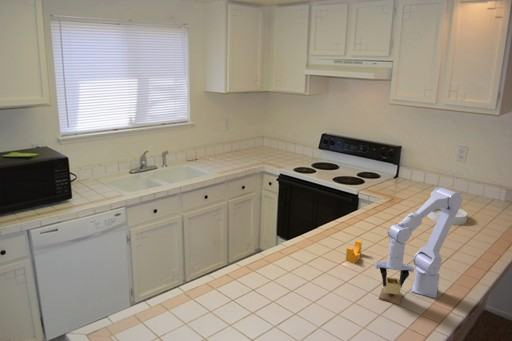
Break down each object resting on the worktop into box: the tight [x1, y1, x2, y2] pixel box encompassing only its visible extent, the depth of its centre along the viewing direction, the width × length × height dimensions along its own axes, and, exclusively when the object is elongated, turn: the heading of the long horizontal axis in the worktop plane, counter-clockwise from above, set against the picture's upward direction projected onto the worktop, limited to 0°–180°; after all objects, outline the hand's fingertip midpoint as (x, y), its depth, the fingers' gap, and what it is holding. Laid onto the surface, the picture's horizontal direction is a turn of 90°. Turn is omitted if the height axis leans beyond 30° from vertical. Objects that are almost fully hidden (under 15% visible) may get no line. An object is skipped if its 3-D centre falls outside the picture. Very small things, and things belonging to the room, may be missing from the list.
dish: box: [426, 208, 468, 226], centre depth 265 cm, size 22×22×5 cm
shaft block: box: [378, 287, 403, 305], centre depth 174 cm, size 8×8×4 cm
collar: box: [382, 276, 402, 295], centre depth 173 cm, size 6×6×4 cm
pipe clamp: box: [345, 239, 363, 264], centre depth 208 cm, size 12×4×6 cm, turn 145°
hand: (391, 285), depth 173 cm, fingers closed on collar, 6 cm apart
